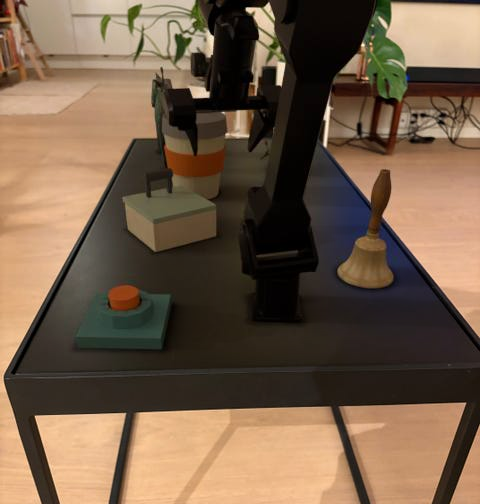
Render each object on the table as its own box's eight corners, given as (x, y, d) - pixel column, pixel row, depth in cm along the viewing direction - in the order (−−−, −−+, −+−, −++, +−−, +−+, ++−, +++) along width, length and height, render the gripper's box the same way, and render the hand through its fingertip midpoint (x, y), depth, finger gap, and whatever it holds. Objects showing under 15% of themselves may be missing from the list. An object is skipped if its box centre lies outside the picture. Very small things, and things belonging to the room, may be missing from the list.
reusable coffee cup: (238, 196, 104) (240, 119, 96) (182, 208, 99) (179, 126, 90) (208, 179, 113) (207, 106, 105) (155, 188, 107) (150, 112, 99)
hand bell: (384, 262, 81) (404, 161, 72) (400, 289, 74) (424, 180, 66) (332, 262, 81) (346, 160, 72) (343, 289, 74) (359, 180, 65)
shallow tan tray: (127, 229, 90) (124, 203, 87) (185, 216, 96) (184, 190, 93) (155, 252, 83) (153, 224, 80) (216, 236, 88) (216, 209, 86)
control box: (161, 349, 61) (160, 325, 59) (77, 348, 61) (73, 323, 59) (171, 305, 70) (170, 282, 68) (97, 303, 70) (94, 280, 68)
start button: (137, 312, 62) (135, 300, 61) (107, 312, 62) (105, 299, 61) (142, 297, 65) (141, 285, 64) (113, 296, 65) (112, 284, 64)
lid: (122, 201, 88) (119, 172, 85) (182, 189, 93) (181, 161, 91) (153, 224, 80) (150, 193, 77) (216, 209, 86) (216, 179, 83)
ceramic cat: (154, 148, 132) (148, 62, 121) (179, 148, 133) (175, 61, 122) (158, 173, 116) (151, 75, 105) (186, 172, 117) (183, 75, 106)
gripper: (278, 28, 78) (262, 120, 91) (155, 29, 74) (156, 125, 86) (302, 68, 72) (281, 160, 85) (170, 71, 68) (169, 168, 80)
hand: (222, 152), depth 84 cm, fingers open, 9 cm apart
